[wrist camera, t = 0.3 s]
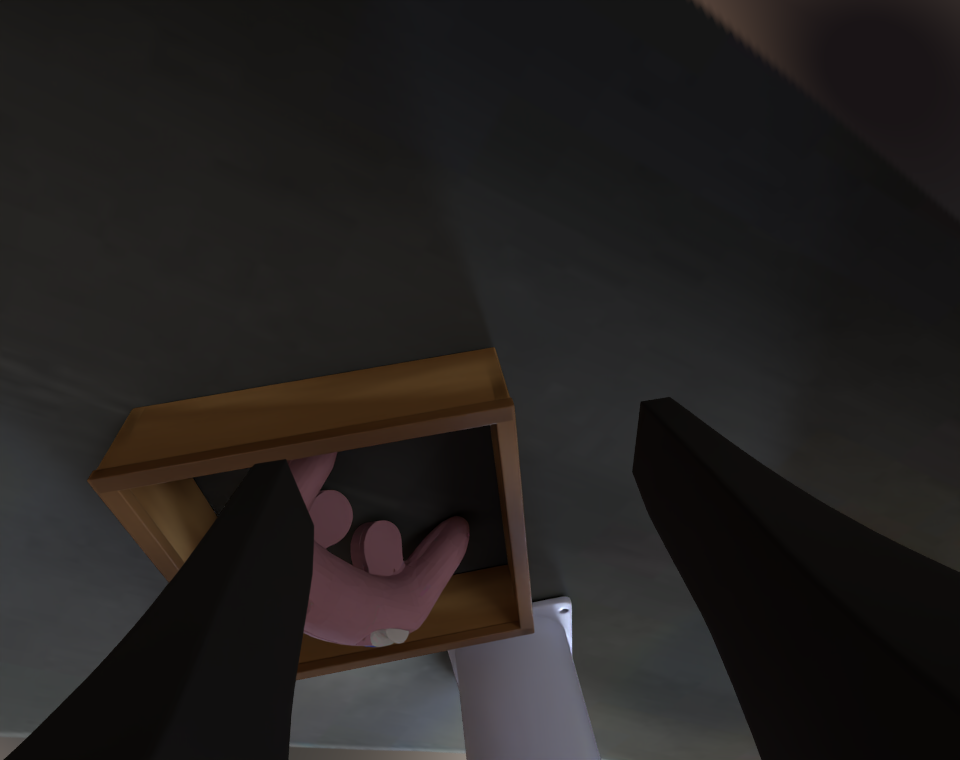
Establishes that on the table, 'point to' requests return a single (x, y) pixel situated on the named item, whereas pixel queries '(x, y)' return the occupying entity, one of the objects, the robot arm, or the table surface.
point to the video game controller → (370, 567)
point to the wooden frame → (316, 431)
